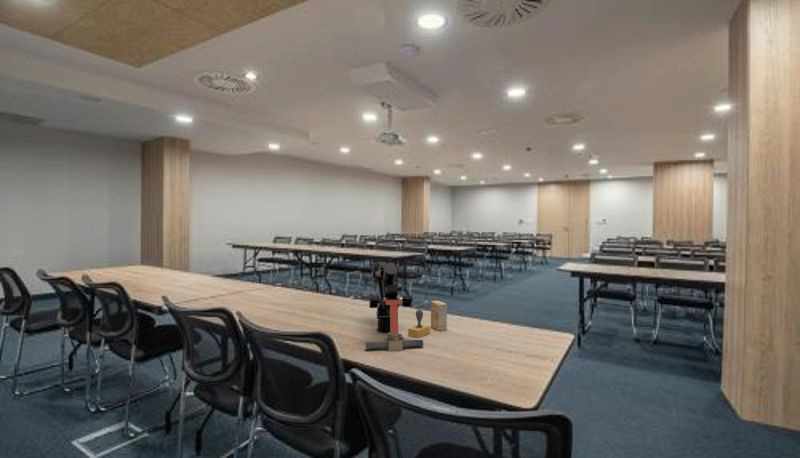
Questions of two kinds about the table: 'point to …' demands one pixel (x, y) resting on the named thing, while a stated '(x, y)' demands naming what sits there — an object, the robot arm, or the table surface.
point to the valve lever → (393, 317)
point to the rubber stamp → (419, 327)
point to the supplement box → (439, 315)
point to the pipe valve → (394, 344)
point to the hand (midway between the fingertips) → (393, 318)
